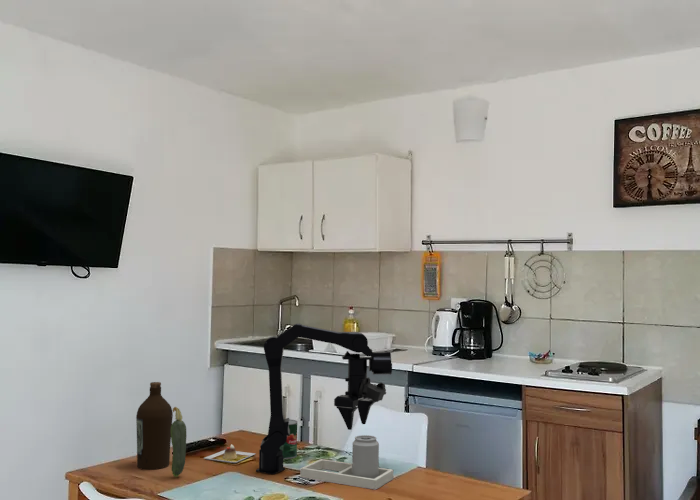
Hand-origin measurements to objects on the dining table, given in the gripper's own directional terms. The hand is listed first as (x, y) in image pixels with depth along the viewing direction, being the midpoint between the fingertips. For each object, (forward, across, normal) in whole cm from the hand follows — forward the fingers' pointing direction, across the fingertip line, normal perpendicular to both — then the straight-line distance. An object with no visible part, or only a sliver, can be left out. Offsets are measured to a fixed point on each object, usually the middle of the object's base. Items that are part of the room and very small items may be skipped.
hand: (356, 426), depth 200 cm
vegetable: (+13, -32, +41) cm, 54 cm away
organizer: (+13, -8, -1) cm, 15 cm away
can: (+13, -8, -7) cm, 17 cm away
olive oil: (+13, -26, +56) cm, 63 cm away
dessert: (+14, -6, +42) cm, 45 cm away
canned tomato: (+13, +4, +28) cm, 31 cm away
